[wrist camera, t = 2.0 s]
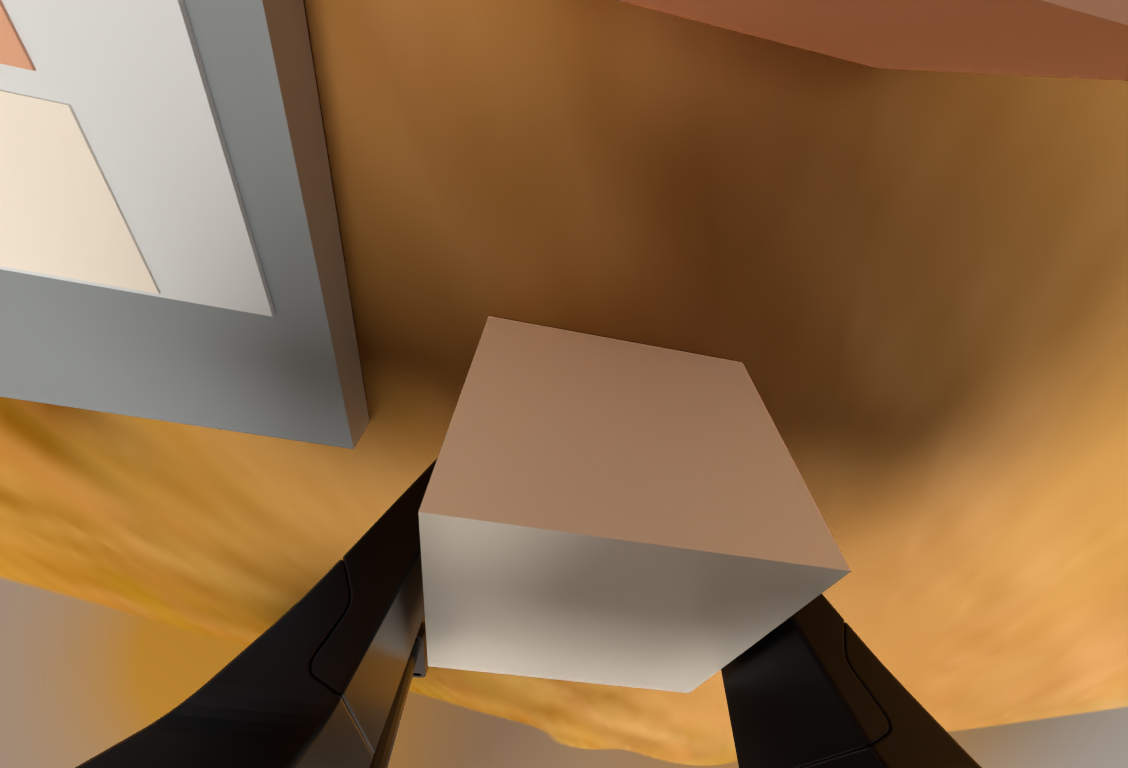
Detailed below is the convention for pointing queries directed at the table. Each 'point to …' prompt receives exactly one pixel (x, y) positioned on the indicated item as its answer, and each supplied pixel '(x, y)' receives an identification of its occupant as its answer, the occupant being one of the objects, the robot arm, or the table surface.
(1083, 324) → the table surface
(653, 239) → the table surface
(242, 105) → the building plate
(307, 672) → the robot arm
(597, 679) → the cream block
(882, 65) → the terracotta block
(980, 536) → the table surface
